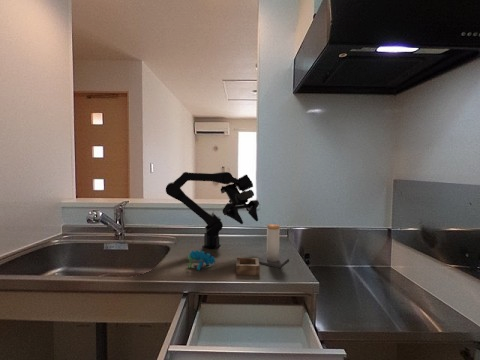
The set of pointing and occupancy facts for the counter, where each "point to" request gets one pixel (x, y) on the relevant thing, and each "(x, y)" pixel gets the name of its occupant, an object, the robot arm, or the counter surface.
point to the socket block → (247, 266)
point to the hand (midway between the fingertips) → (250, 222)
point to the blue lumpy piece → (200, 258)
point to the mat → (275, 264)
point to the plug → (273, 242)
